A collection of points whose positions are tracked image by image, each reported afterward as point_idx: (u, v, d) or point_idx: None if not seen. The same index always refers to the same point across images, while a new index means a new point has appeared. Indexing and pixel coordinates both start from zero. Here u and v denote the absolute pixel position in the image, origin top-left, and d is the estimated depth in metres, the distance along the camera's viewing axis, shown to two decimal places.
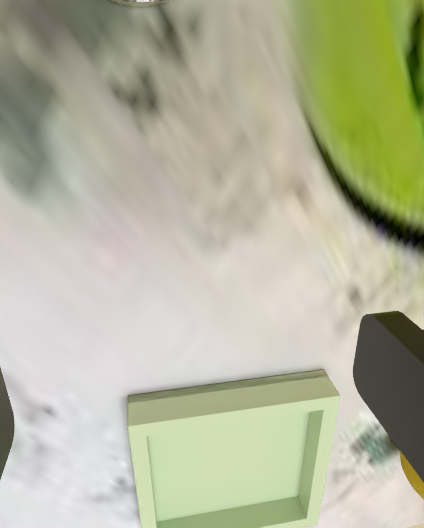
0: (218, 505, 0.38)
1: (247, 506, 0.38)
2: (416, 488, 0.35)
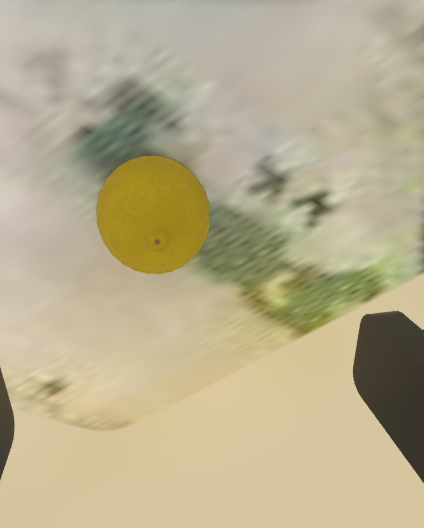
0: None
1: None
2: (134, 165, 0.18)
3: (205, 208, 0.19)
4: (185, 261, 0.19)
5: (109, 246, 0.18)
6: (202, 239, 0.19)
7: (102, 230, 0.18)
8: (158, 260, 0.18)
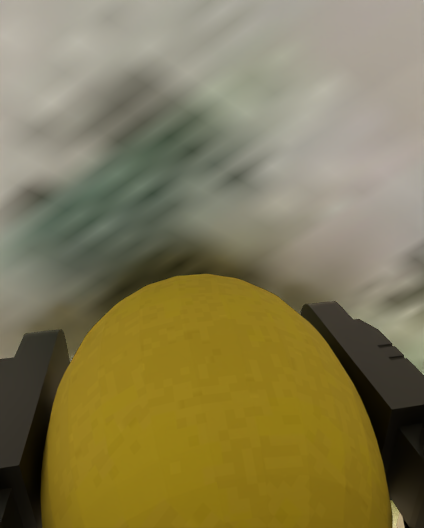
0: None
1: None
2: (159, 355, 0.05)
3: (386, 483, 0.06)
4: None
5: None
6: None
7: None
8: None
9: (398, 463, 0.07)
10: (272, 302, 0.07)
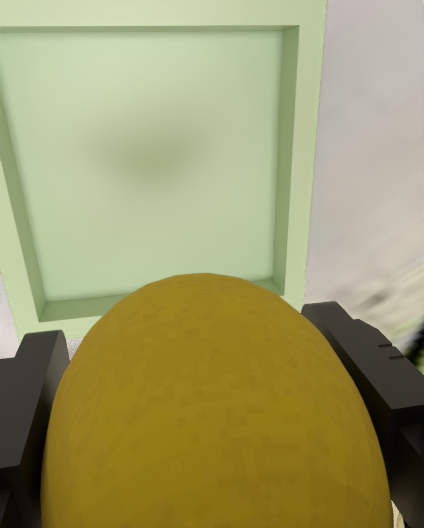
0: (32, 163, 0.20)
1: (27, 218, 0.21)
2: (160, 354, 0.05)
3: (387, 482, 0.06)
4: None
5: None
6: None
7: None
8: None
9: (398, 463, 0.07)
10: (272, 301, 0.07)
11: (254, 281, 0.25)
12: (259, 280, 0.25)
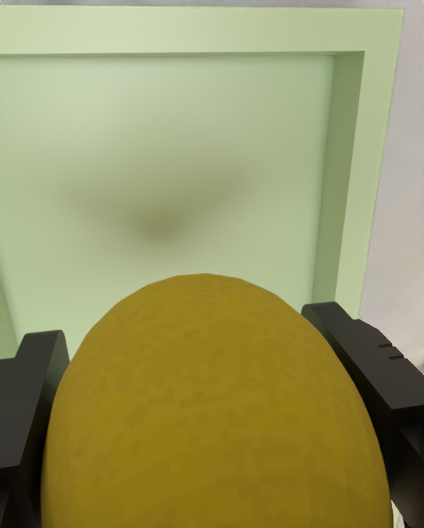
0: (8, 224, 0.16)
1: (2, 291, 0.17)
2: (160, 355, 0.05)
3: (387, 483, 0.06)
4: None
5: None
6: None
7: None
8: None
9: (398, 463, 0.07)
10: (272, 301, 0.07)
11: None
12: None
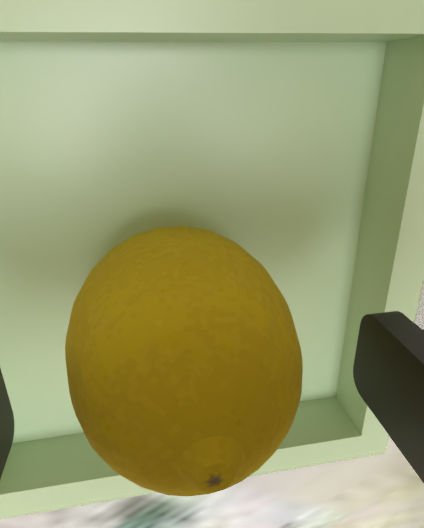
0: None
1: None
2: (147, 267, 0.08)
3: (300, 352, 0.09)
4: None
5: (94, 449, 0.08)
6: (293, 417, 0.09)
7: (77, 415, 0.08)
8: (207, 492, 0.08)
9: None
10: (226, 241, 0.10)
11: (310, 401, 0.17)
12: (316, 399, 0.18)
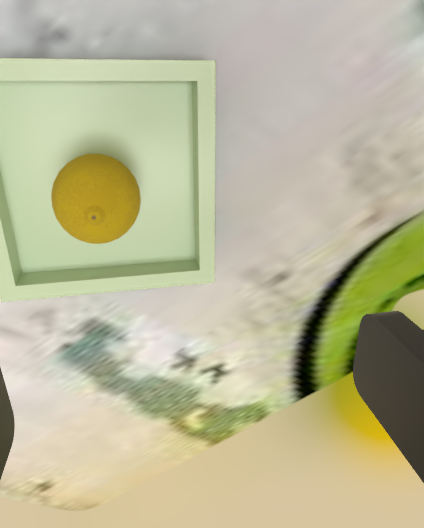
0: (12, 170, 0.28)
1: (8, 210, 0.29)
2: (79, 161, 0.24)
3: (134, 194, 0.25)
4: (118, 234, 0.25)
5: (60, 221, 0.24)
6: (131, 217, 0.25)
7: (54, 209, 0.24)
8: (96, 232, 0.24)
9: None
10: (113, 158, 0.26)
11: (181, 260, 0.34)
12: (184, 260, 0.34)
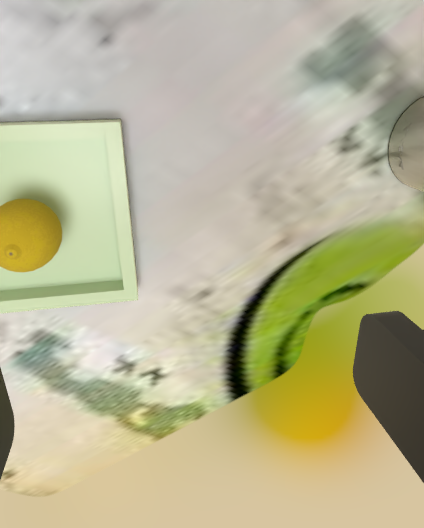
0: None
1: None
2: (5, 207, 0.30)
3: (49, 233, 0.31)
4: (37, 265, 0.31)
5: None
6: (47, 252, 0.31)
7: None
8: (16, 264, 0.30)
9: None
10: (37, 202, 0.32)
11: (111, 281, 0.39)
12: (115, 280, 0.40)
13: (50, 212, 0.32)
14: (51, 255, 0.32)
